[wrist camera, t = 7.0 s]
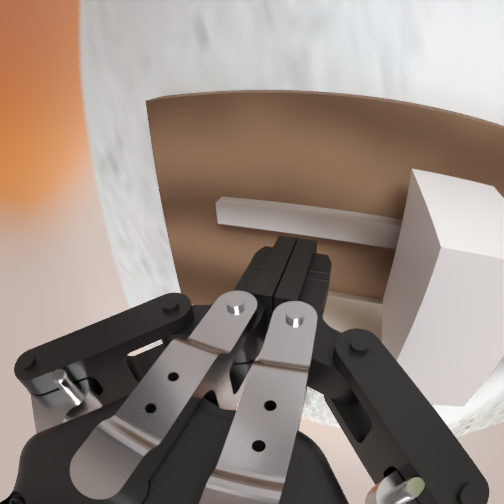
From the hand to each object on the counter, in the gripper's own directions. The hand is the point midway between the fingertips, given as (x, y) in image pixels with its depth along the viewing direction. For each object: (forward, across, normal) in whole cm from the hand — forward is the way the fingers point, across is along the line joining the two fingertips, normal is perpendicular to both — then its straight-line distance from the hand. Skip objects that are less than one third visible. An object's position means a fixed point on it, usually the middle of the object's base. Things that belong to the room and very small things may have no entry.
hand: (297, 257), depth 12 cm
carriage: (+3, -6, +2) cm, 7 cm away
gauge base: (+5, -6, +1) cm, 8 cm away
